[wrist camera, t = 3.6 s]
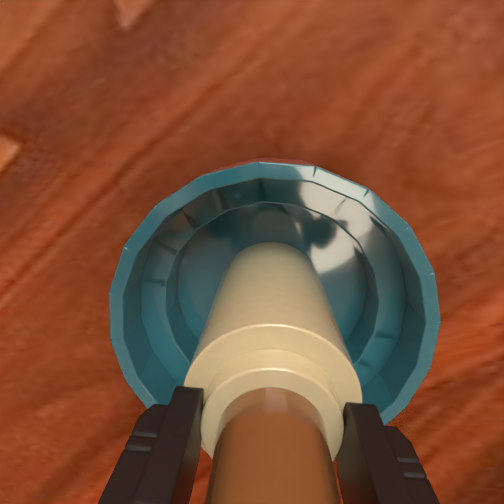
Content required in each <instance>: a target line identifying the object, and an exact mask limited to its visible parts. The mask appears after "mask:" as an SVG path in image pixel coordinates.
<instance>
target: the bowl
mask: <svg viewBox="0 0 504 504" xmlns="http://www.w3.org/2000/svg"><path fill="white" fill-rule="evenodd" d="M264 242H277V243H283V244H287V245H290V246H292V247H294V248H296V249H298V250H300V251H301V252H302V253H304V254H305V255H306V256H307V257H308V258H309V259H310V260H311V261H312V263H313V264H314V265H315V267H316V269H317V271H318V273H319V276H320V278H321V281H322V284H323V286H324V289H325V292H326V294H327V297H328V300H329V302H330V305H331V307H332V310H333V313H334V315H335V318H336V321H337V323H338V326H339V329H340V331H341V334H342V337H343V339H344V342H345V344H346V347H347V350H348V352H349V355H350V358H351V360H352V363H353V366H354V368H355V371H356V374H357V376H358V379H359V381H360V385H361V390H362V400H363V403H365V404H374V405H376V407H377V409H378V412H379V414H380V417H381V419H382V422H383V424H384V426H385V425H386V424H387V423H389V422H390V421H391V420H392V419H393V418H394V417H396V416H397V415H398V414H399V413H400V412H401V411H403V410H404V408H406V407H407V405H408V404H409V402H410V400H411V399H412V397H413V396H414V394H415V392H416V391H417V389H418V388H419V386H420V384H421V383H422V381H423V380H424V378H425V376H426V375H427V373H428V372H429V370H430V367H431V363H432V359H433V354H434V350H435V346H436V341H437V337H438V333H439V328H440V324H441V322H440V321H441V318H440V310H439V302H438V295H437V287H436V279H435V273H434V270H433V268H432V266H431V264H430V262H429V260H428V258H427V256H426V254H425V252H424V251H423V249H422V247H421V245H420V243H419V241H418V239H417V237H416V235H415V233H414V232H413V230H412V228H411V227H410V226H409V224H408V223H407V222H406V221H405V220H404V219H403V218H401V217H400V216H399V215H398V214H397V213H396V212H395V211H394V210H393V209H392V208H390V207H389V206H388V205H387V204H386V203H385V202H384V201H383V200H382V199H381V198H379V197H378V196H377V195H376V194H375V193H374V192H373V191H372V190H371V189H368V188H367V187H365V186H363V185H361V184H359V183H357V182H354V181H352V180H350V179H348V178H345V177H343V176H341V175H338V174H336V173H334V172H331V171H329V170H327V169H324V168H322V167H320V166H317V165H315V164H313V163H310V162H308V161H304V160H293V159H280V158H267V157H261V158H260V157H259V158H255V159H251V160H247V161H243V162H239V163H235V164H231V165H227V166H223V167H219V168H217V169H214V170H212V171H210V172H208V173H205V174H203V175H201V176H199V177H198V178H196V179H195V180H193V181H192V182H190V183H188V184H187V185H185V186H184V187H182V188H181V189H179V190H178V191H176V192H175V193H173V194H171V195H170V196H168V197H167V198H165V199H164V200H162V201H161V202H159V203H158V204H156V206H154V207H153V209H152V210H151V211H150V212H149V214H148V215H147V216H146V218H145V219H144V220H143V221H142V223H141V224H140V225H139V227H138V228H137V229H136V230H135V232H134V233H133V234H132V236H131V237H130V238H129V240H128V241H127V242H126V243H125V245H124V247H123V250H122V253H121V256H120V259H119V262H118V265H117V268H116V271H115V274H114V277H113V281H112V284H111V287H110V290H109V292H110V293H109V317H110V341H111V344H112V346H113V349H114V352H115V354H116V357H117V360H118V362H119V365H120V367H121V370H122V373H123V375H124V378H125V381H126V382H127V384H128V385H129V386H130V388H131V389H132V390H133V391H134V393H135V394H136V395H137V396H138V398H139V399H140V400H141V402H142V403H143V404H144V405H145V407H146V408H147V409H148V408H149V407H151V406H152V405H153V404H162V405H169V402H170V400H171V397H172V395H173V392H174V389H175V387H176V386H183V385H184V381H185V377H186V375H187V372H188V369H189V366H190V363H191V361H192V358H193V355H194V352H195V349H196V347H197V344H198V341H199V338H200V335H201V333H202V330H203V327H204V324H205V322H206V319H207V316H208V313H209V310H210V308H211V305H212V302H213V299H214V296H215V294H216V291H217V288H218V285H219V282H220V280H221V277H222V274H223V272H224V270H225V268H226V266H227V264H228V263H229V262H230V260H231V259H232V258H233V257H234V256H235V255H236V254H237V253H239V252H240V251H242V250H243V249H245V248H247V247H249V246H252V245H254V244H258V243H264ZM201 448H202V447H201Z"/></svg>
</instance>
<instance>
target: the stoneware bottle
mask: <svg viewBox="0 0 504 504" xmlns="http://www.w3.org/2000/svg"><path fill="white" fill-rule="evenodd" d="M183 386H185V387H196V388H203V389H204V401H203V409H202V413H201V424H200V433H201V438H202V441H201V447H202V449H203V450H204V451H205V452H206V453H207V454H208V455H209V456H210V458H211V459H212V464H211V469H210V475H209V480H208V486H207V491H206V497H205V502H204V504H340V499H339V494H338V489H337V484H336V479H335V473H334V468H333V463H332V462H333V461H334V459H335V458H336V456H337V454H338V453H339V450H340V448H341V445H342V440H343V434H344V419H343V410H344V406H345V403H346V402H354V403H363V400H362V390H361V385H360V381H359V379H358V376H357V374H356V371H355V368H354V366H353V363H352V360H351V358H350V355H349V352H348V350H347V347H346V344H345V342H344V339H343V337H342V334H341V331H340V329H339V326H338V323H337V321H336V318H335V315H334V313H333V310H332V307H331V305H330V302H329V300H328V297H327V294H326V292H325V289H324V286H323V284H322V281H321V278H320V276H319V273H318V271H317V269H316V267H315V265H314V264H313V263H312V261H311V260H310V259H309V258H308V257H307V256H306V255H305V254H304V253H302V252H301V251H300V250H298V249H296V248H294V247H292V246H290V245H287V244H283V243H277V242H264V243H258V244H254V245H252V246H249V247H247V248H245V249H243V250H242V251H240V252H239V253H237V254H236V255H235V256H234V257H233V258H232V259H231V260H230V262H229V263H228V264H227V266H226V268H225V270H224V272H223V274H222V277H221V280H220V282H219V285H218V288H217V291H216V294H215V296H214V299H213V302H212V305H211V308H210V310H209V313H208V316H207V319H206V322H205V324H204V327H203V330H202V333H201V335H200V338H199V341H198V344H197V347H196V349H195V352H194V355H193V358H192V361H191V363H190V366H189V369H188V372H187V375H186V377H185V381H184V385H183Z"/></svg>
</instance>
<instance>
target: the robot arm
mask: <svg viewBox="0 0 504 504" xmlns="http://www.w3.org/2000/svg"><path fill="white" fill-rule="evenodd" d="M203 401H204V389H203V388H196V387H185V386H176V387H175V389H174V392H173V395H172V397H171V400H170V402H169V405H162V404H153V405H152V406H151V407H149V408H148V409H147V410H146V411H145V412H144V413H143V414H142V415H141V416H139V418H138V420H137V423H136V425H135V427H134V429H133V431H132V434H131V436H130V437H129V439H128V441H127V443H126V446H125V450H123V452H122V454H121V456H120V458H119V460H118V462H117V464H116V466H115V468H114V471H113V473H112V475H111V477H110V479H109V481H108V483H107V485H106V487H105V489H104V491H103V494H102V496H101V498H100V500H99V502H98V504H189V501H190V496H191V492H192V488H193V483H194V479H195V474H196V470H197V465H198V461H199V456H200V449H201V441H202V438H201V433H200V424H201V413H202V409H203ZM343 419H344V434H343V440H342V445H341V448H340V450H339V453H338V454H337V473H338V479H339V483H340V488H341V493H342V498H343V503H344V504H440V503H439V501H438V499H437V497H436V495H435V493H434V490H433V488H432V486H431V484H430V482H429V480H427V476H426V473H425V471H424V469H423V467H422V465H421V464H420V463H419V458H418V456H417V454H416V452H415V450H414V448H413V446H412V444H411V442H410V441H409V440H408V439H407V438H406V437H405V436H404V435H403V434H402V433H401V432H400V431H399V430H398V428H397V427H392V426H384V424H383V422H382V419H381V417H380V414H379V412H378V409H377V407H376V405H374V404H365V403H354V402H346V403H345V406H344V410H343Z"/></svg>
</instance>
